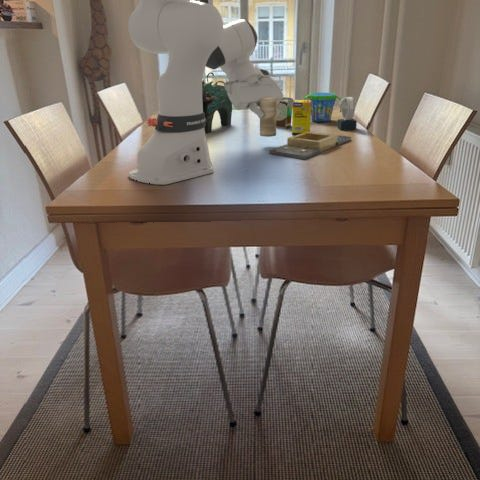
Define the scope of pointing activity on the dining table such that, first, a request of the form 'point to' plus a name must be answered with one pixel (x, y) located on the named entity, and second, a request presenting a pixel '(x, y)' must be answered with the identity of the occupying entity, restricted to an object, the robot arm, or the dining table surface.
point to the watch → (347, 114)
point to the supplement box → (301, 116)
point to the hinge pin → (268, 116)
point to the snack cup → (322, 106)
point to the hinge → (308, 144)
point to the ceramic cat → (215, 104)
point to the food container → (284, 113)
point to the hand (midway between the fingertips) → (269, 115)
